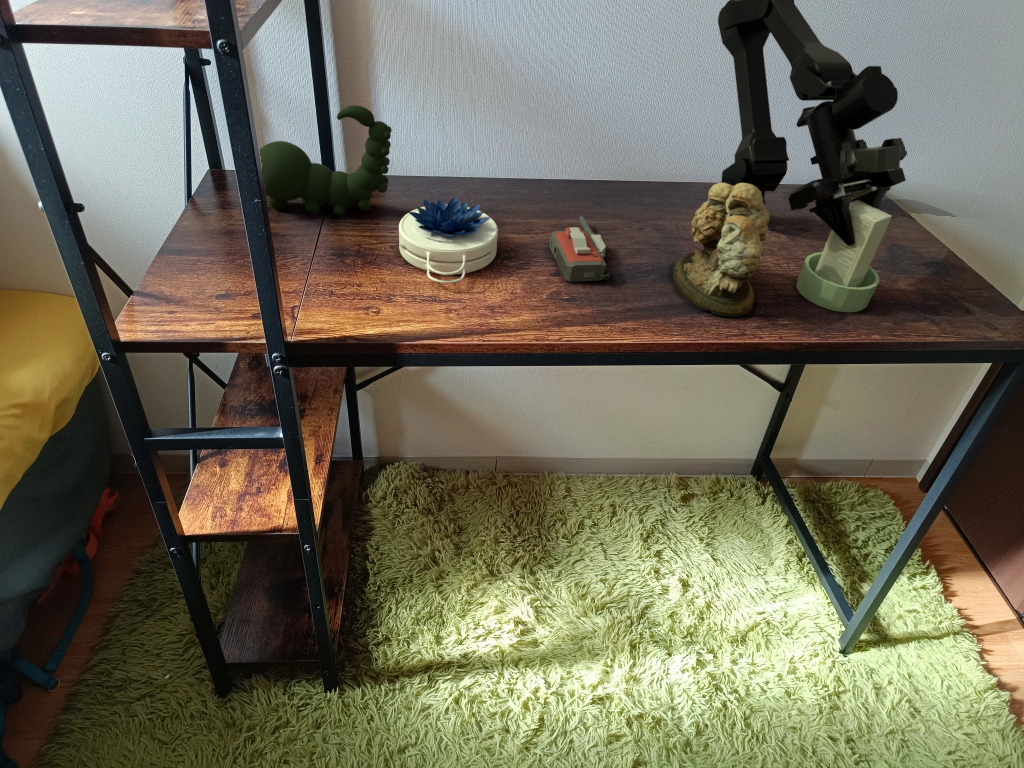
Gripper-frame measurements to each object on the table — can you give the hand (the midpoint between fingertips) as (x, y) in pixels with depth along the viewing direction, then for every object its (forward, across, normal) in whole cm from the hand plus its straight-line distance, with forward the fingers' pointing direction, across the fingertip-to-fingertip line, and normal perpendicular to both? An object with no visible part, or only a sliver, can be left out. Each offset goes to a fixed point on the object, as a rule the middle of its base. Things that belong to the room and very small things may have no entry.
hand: (862, 242), depth 104 cm
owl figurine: (0, -18, +14) cm, 23 cm away
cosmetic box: (+4, 0, +6) cm, 8 cm away
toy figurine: (-32, -68, +46) cm, 88 cm away
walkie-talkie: (-11, -33, +26) cm, 43 cm away
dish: (+6, 0, +8) cm, 10 cm away
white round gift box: (-16, -54, +30) cm, 63 cm away
